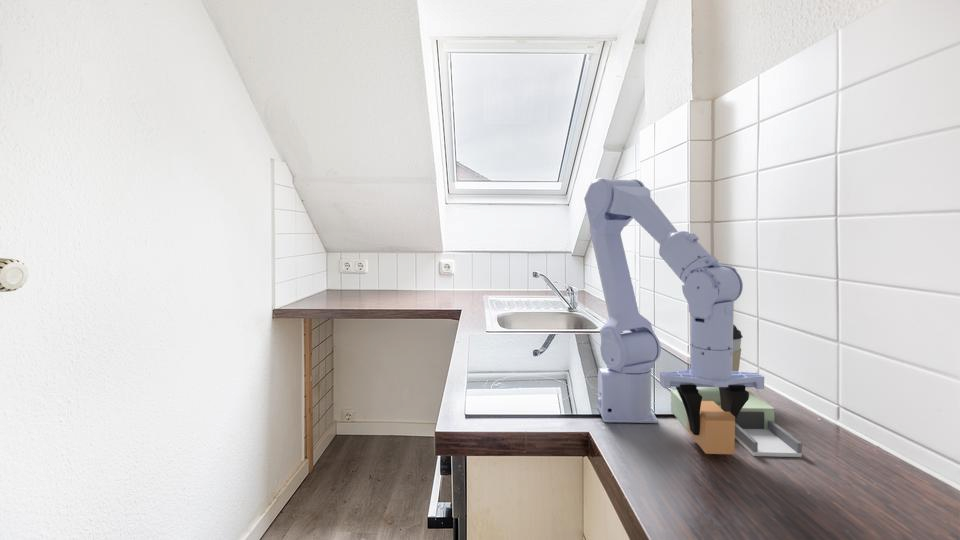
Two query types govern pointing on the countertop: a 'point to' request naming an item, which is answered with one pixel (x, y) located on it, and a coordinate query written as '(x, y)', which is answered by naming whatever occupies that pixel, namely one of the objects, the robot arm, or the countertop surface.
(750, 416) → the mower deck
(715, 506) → the countertop surface
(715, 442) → the orange stepped block
